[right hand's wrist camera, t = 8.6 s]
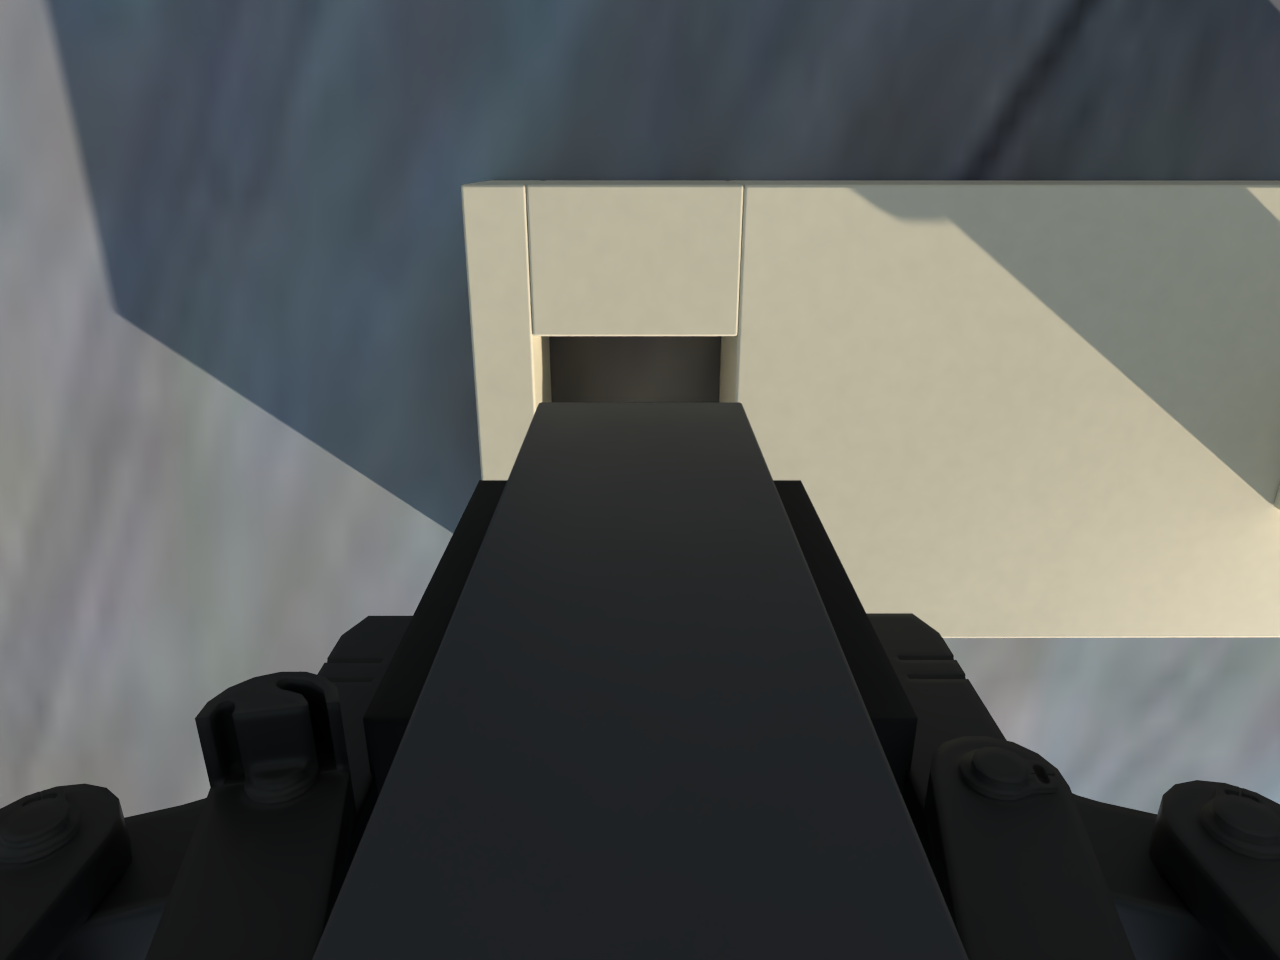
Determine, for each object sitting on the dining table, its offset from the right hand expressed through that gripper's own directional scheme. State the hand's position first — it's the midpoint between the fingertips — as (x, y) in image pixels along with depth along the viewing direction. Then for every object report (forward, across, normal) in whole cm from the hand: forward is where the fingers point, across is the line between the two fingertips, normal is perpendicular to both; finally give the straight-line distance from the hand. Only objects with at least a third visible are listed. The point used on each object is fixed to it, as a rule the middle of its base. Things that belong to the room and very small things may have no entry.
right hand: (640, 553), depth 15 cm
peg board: (+11, +9, 0) cm, 14 cm away
